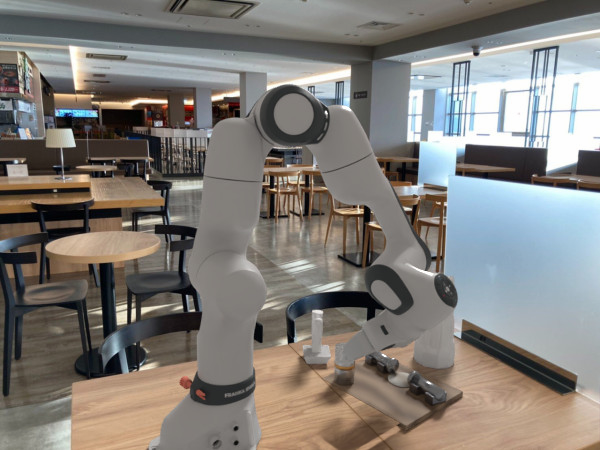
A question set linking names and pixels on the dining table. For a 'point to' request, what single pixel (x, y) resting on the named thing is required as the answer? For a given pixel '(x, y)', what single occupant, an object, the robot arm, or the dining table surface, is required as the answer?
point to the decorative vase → (437, 344)
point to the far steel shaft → (382, 362)
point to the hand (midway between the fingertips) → (363, 352)
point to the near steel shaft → (426, 389)
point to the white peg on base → (316, 342)
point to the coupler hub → (343, 367)
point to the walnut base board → (394, 393)
